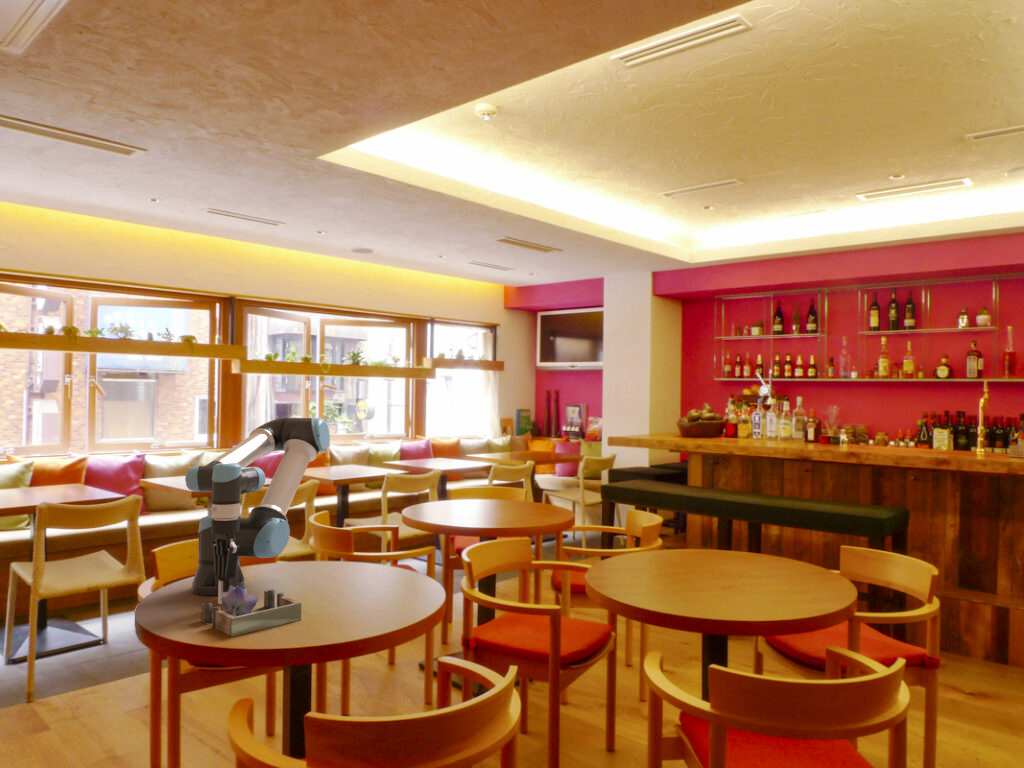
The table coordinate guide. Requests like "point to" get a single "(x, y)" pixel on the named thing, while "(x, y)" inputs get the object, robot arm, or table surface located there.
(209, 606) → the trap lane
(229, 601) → the flower
